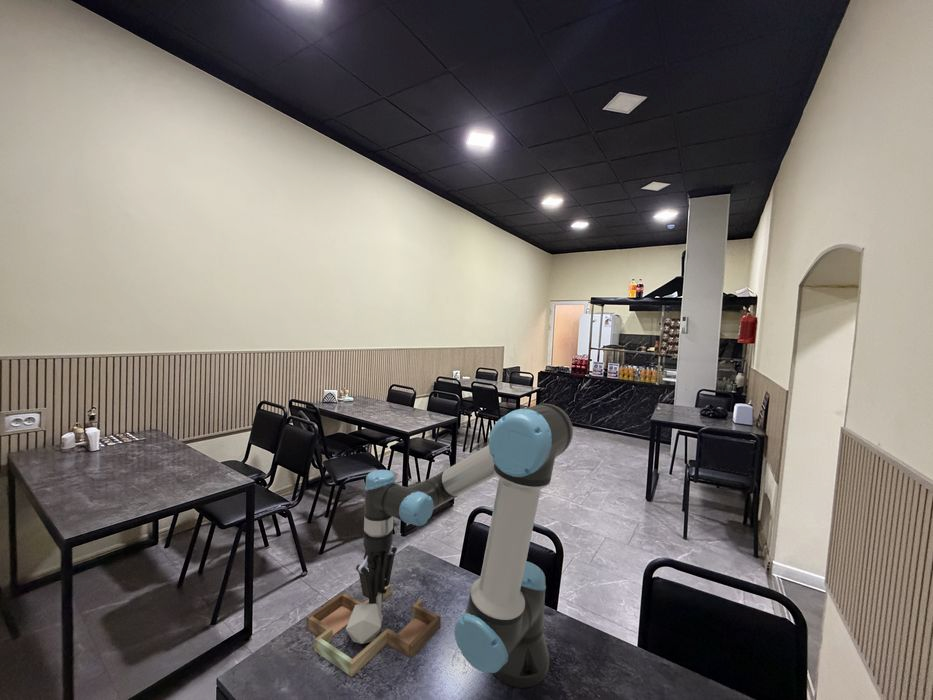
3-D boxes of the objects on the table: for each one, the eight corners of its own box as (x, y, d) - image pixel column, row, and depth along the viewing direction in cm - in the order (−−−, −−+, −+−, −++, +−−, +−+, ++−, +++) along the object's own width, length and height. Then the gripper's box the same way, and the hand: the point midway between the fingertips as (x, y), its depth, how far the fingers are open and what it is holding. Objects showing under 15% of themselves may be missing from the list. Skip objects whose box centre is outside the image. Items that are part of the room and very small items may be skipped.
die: (365, 661, 93) (389, 621, 95) (334, 641, 93) (359, 602, 95) (370, 641, 101) (392, 605, 103) (341, 623, 101) (364, 587, 103)
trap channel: (445, 622, 105) (446, 611, 105) (377, 695, 83) (378, 681, 83) (369, 583, 120) (369, 573, 120) (294, 636, 98) (294, 625, 98)
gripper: (385, 517, 109) (382, 598, 110) (349, 536, 98) (346, 626, 99) (405, 524, 105) (402, 608, 106) (370, 545, 94) (367, 639, 95)
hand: (375, 617), depth 102 cm, fingers closed
